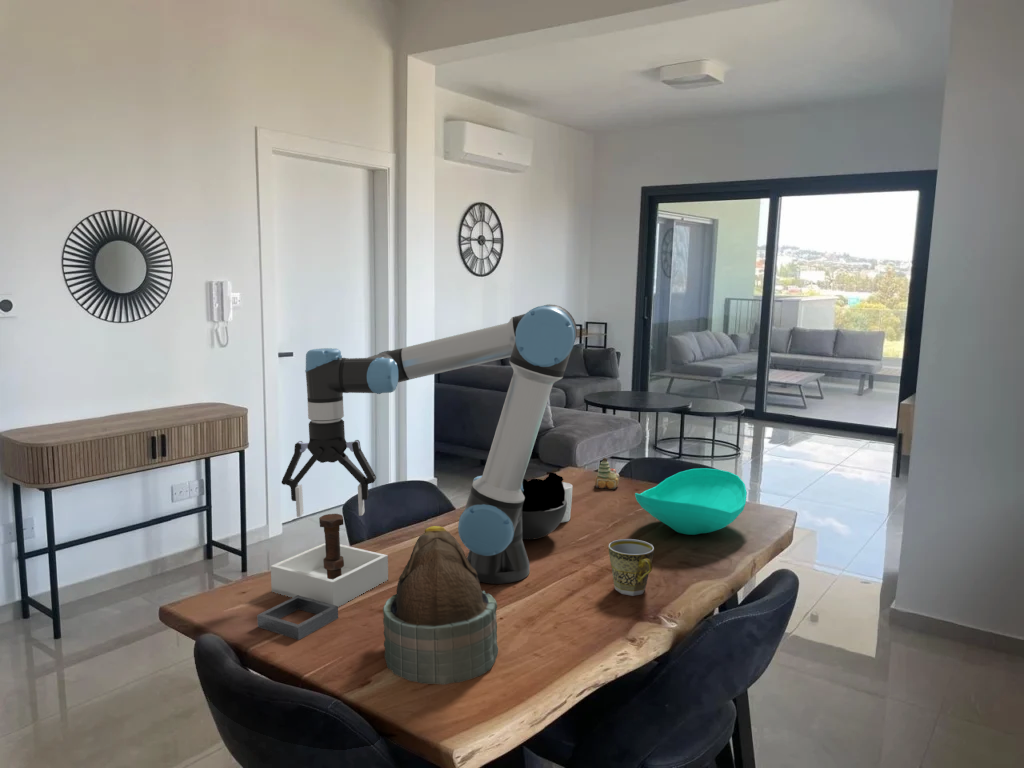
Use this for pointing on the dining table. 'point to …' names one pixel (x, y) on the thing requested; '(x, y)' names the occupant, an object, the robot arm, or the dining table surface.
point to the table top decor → (696, 500)
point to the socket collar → (298, 631)
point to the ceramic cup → (630, 565)
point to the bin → (311, 577)
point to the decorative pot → (439, 616)
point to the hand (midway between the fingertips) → (330, 514)
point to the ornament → (606, 476)
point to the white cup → (568, 499)
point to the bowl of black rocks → (542, 506)
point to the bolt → (332, 544)
